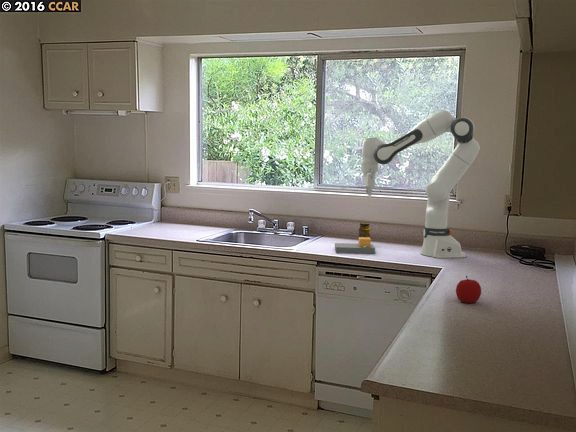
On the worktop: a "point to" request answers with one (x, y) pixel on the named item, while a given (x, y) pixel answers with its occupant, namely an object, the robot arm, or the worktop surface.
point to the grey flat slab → (354, 248)
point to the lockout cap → (364, 241)
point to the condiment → (364, 230)
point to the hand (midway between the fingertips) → (368, 194)
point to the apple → (468, 291)
